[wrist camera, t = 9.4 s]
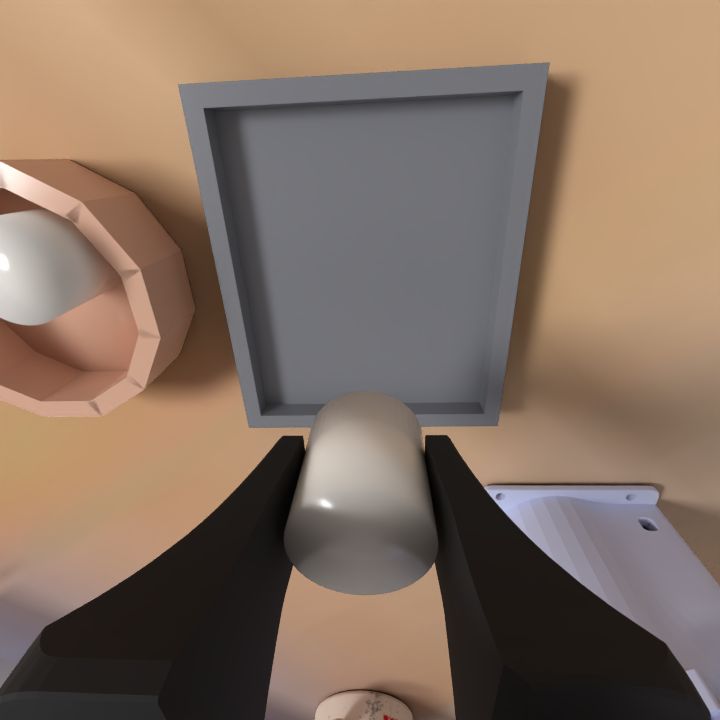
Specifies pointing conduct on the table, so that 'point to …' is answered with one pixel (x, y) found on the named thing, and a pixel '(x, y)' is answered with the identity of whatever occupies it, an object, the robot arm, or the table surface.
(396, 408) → the stone pebble near
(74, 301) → the white egg
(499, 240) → the parts tray
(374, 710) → the teacup with lid
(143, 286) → the bowl
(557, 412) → the table surface
